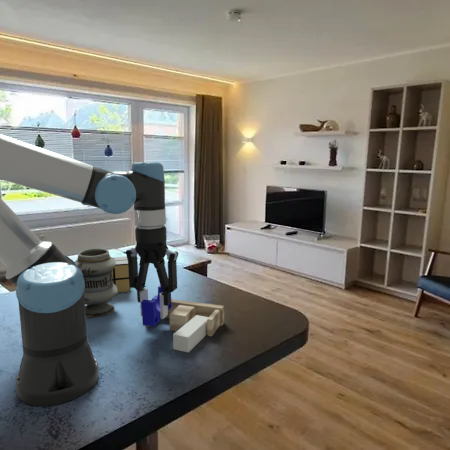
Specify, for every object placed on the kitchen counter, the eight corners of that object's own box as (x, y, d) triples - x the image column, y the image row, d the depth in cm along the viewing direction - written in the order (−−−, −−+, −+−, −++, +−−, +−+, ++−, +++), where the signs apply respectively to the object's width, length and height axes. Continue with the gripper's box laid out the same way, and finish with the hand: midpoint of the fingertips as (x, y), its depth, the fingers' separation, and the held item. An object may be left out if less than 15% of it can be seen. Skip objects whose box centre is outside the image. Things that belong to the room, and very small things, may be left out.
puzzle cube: (99, 285, 133) (98, 258, 131) (128, 282, 136) (127, 256, 134) (99, 295, 124) (97, 266, 122) (130, 292, 127) (129, 263, 125)
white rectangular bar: (188, 353, 88) (188, 337, 87) (173, 350, 89) (173, 334, 88) (210, 331, 99) (210, 317, 98) (196, 329, 100) (196, 315, 99)
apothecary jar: (77, 322, 103) (72, 259, 100) (73, 306, 114) (69, 249, 111) (121, 314, 109) (118, 254, 105) (114, 300, 119) (111, 245, 116)
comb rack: (214, 336, 95) (214, 318, 94) (143, 325, 101) (142, 308, 100) (224, 323, 103) (224, 305, 102) (158, 313, 109) (157, 297, 108)
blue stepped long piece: (156, 305, 103) (154, 284, 102) (171, 306, 102) (170, 285, 101) (137, 325, 91) (135, 301, 90) (154, 326, 90) (152, 302, 89)
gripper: (190, 225, 93) (192, 313, 97) (126, 221, 98) (131, 305, 102) (177, 230, 86) (180, 326, 90) (110, 226, 91) (115, 317, 95)
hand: (154, 315), depth 96 cm, fingers closed on blue stepped long piece, 5 cm apart
